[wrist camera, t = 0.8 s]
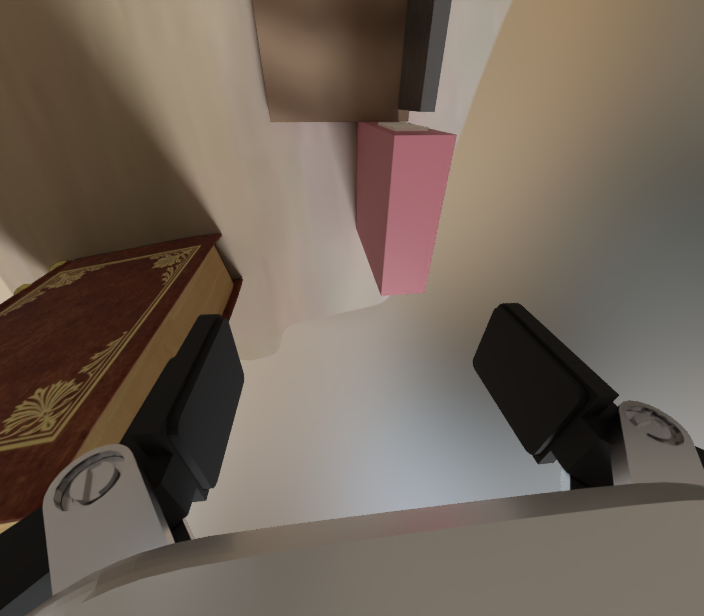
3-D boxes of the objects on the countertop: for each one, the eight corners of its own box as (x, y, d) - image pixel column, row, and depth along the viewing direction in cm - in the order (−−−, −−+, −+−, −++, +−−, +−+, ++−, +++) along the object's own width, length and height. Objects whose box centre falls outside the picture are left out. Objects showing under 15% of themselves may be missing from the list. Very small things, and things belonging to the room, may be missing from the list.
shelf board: (231, -165, 18) (223, -189, 17) (428, -145, 20) (438, -166, 18) (272, 120, 28) (270, 122, 27) (402, 120, 30) (407, 121, 28)
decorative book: (92, 311, 39) (-240, 633, 15) (45, 263, 34) (-548, 629, 10) (244, 281, 39) (147, 555, 16) (220, 229, 34) (23, 514, 11)
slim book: (357, 118, 29) (394, 131, 16) (393, 118, 29) (457, 131, 17) (356, 228, 36) (381, 295, 24) (385, 227, 37) (424, 292, 24)
